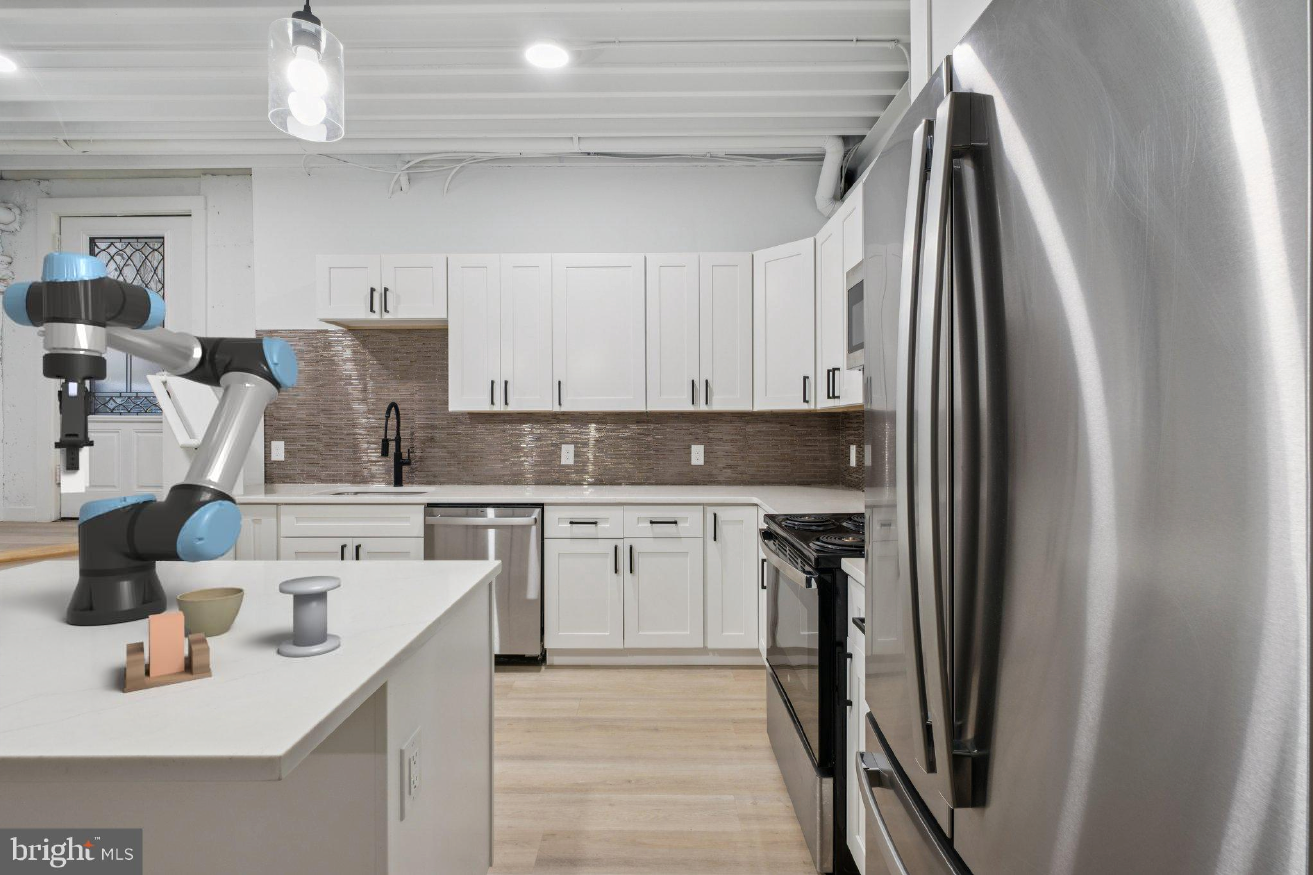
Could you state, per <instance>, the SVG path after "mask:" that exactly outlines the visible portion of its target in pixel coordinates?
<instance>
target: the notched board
mask: <svg viewBox="0 0 1313 875" xmlns="http://www.w3.org/2000/svg"><path fill="white" fill-rule="evenodd" d="M125 647H126V649H125V651H126V656H125V657H126V660H125V661H126V662H125V663H126V664H125V665H126V667H124V671H123V673H124V674H123V693H125V694H126V693H130V692H134V691H135V692H136V691H139V690H140V691H141V690H145V689H146V690H147V689H151V688H156V687H157V688H158V687H161V686H162V687H163V686H167V685H172V684H178V683H182V682H188V681H194V680H198V679H204V678H209V677H210V678H211V677H213V671H212V669H211V665H210V664H211V654H210V653H211V652H210V650H211V649H210V646H209V643H208V640H207V637H205V635H204V632H202V633H196V634H192V633H190V634H187V656H186V657H184V671H181V672H176V673H171V674H165V675H160V676H154V677H150V674H149V663H146V658H145V655H146V654H145V644H144V641H140V642H132V643H127V644H126V646H125Z"/></svg>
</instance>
